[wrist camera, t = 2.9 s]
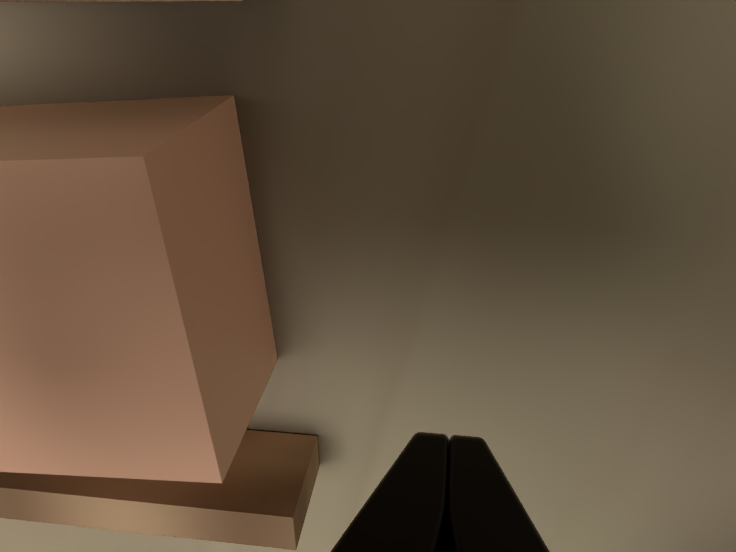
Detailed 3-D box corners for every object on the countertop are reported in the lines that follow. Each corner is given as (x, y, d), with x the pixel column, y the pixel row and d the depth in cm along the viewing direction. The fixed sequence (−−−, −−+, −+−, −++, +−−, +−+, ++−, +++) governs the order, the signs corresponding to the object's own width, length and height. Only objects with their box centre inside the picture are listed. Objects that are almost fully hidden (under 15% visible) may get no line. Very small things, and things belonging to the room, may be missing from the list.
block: (236, 93, 12) (143, 156, 9) (279, 354, 15) (222, 483, 11) (-45, 106, 13) (-233, 168, 9) (46, 349, 16) (-75, 468, 12)
